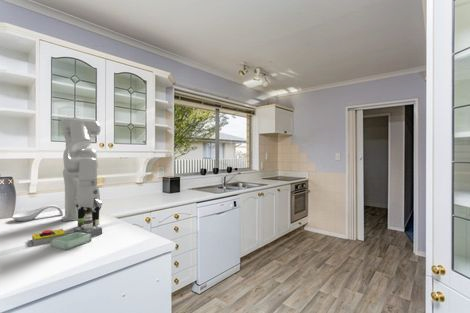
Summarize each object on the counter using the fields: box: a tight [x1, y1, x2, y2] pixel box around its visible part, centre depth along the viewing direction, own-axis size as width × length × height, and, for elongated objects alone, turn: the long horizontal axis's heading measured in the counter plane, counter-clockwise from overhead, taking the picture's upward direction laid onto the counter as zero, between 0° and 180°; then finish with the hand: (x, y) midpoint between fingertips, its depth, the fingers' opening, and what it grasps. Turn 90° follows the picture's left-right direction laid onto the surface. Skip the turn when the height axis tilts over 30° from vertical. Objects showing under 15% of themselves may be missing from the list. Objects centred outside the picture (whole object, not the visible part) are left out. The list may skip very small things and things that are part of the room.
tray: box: [51, 232, 92, 251], centre depth 104 cm, size 11×9×3 cm
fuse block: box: [73, 225, 103, 238], centre depth 116 cm, size 7×10×4 cm
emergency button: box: [27, 228, 69, 247], centre depth 110 cm, size 9×4×15 cm
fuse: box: [84, 215, 93, 231], centre depth 116 cm, size 4×4×9 cm
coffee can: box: [77, 207, 100, 228], centre depth 131 cm, size 10×10×14 cm
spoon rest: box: [11, 204, 64, 222], centre depth 145 cm, size 24×12×7 cm, turn 135°
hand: (88, 219), depth 116 cm, fingers open, 9 cm apart
